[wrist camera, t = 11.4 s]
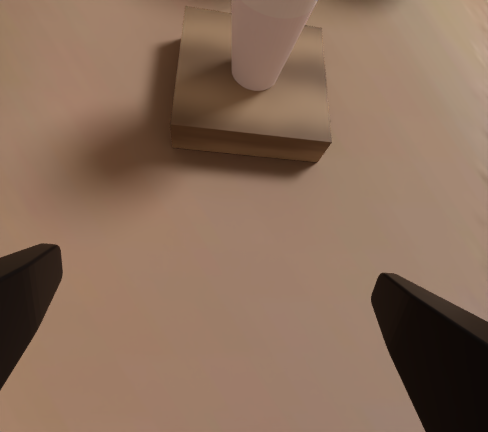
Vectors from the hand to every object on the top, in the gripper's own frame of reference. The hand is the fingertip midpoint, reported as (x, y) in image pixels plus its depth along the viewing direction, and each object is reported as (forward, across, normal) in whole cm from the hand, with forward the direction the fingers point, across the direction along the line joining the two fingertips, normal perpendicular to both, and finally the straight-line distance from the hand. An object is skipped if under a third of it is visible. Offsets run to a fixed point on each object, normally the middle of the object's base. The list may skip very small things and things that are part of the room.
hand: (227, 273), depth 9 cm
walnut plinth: (+23, -2, -4) cm, 23 cm away
